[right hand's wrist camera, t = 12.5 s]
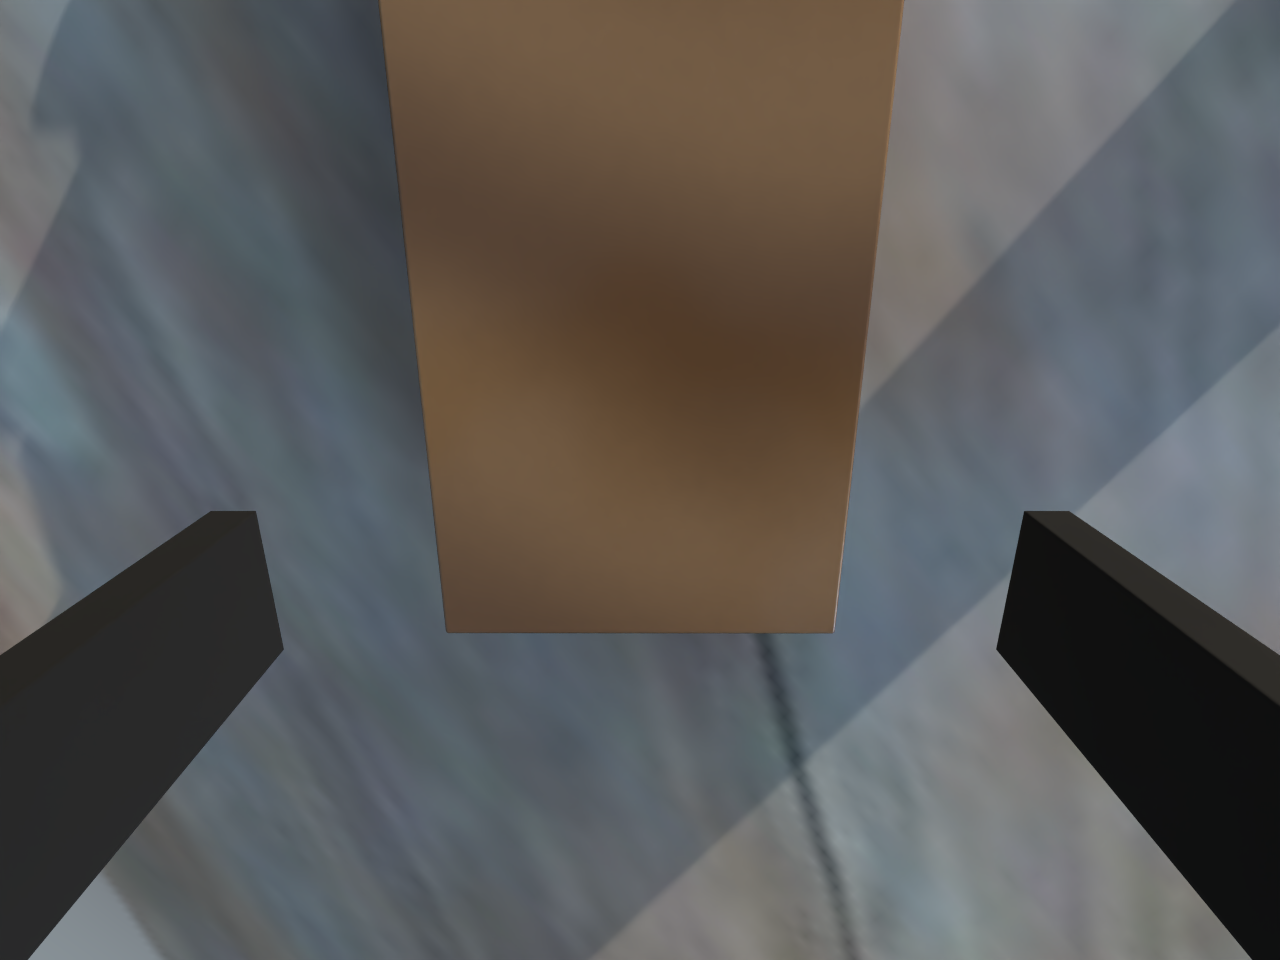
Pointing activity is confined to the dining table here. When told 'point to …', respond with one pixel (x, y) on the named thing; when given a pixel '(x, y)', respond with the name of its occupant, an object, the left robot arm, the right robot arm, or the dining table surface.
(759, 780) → the dining table surface
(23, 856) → the right robot arm
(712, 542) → the cabinet
